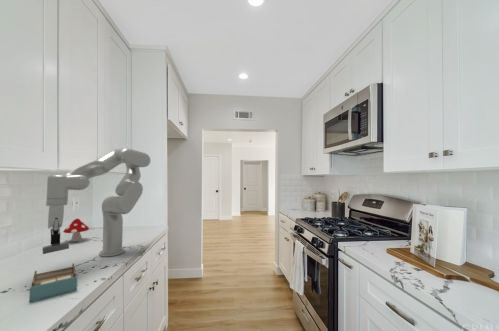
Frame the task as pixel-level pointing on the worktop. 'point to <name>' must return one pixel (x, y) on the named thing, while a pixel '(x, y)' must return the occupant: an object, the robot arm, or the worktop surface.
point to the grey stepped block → (55, 247)
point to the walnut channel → (53, 275)
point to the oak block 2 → (63, 277)
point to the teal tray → (53, 289)
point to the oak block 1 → (47, 281)
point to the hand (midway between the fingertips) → (55, 242)
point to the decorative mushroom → (76, 229)
